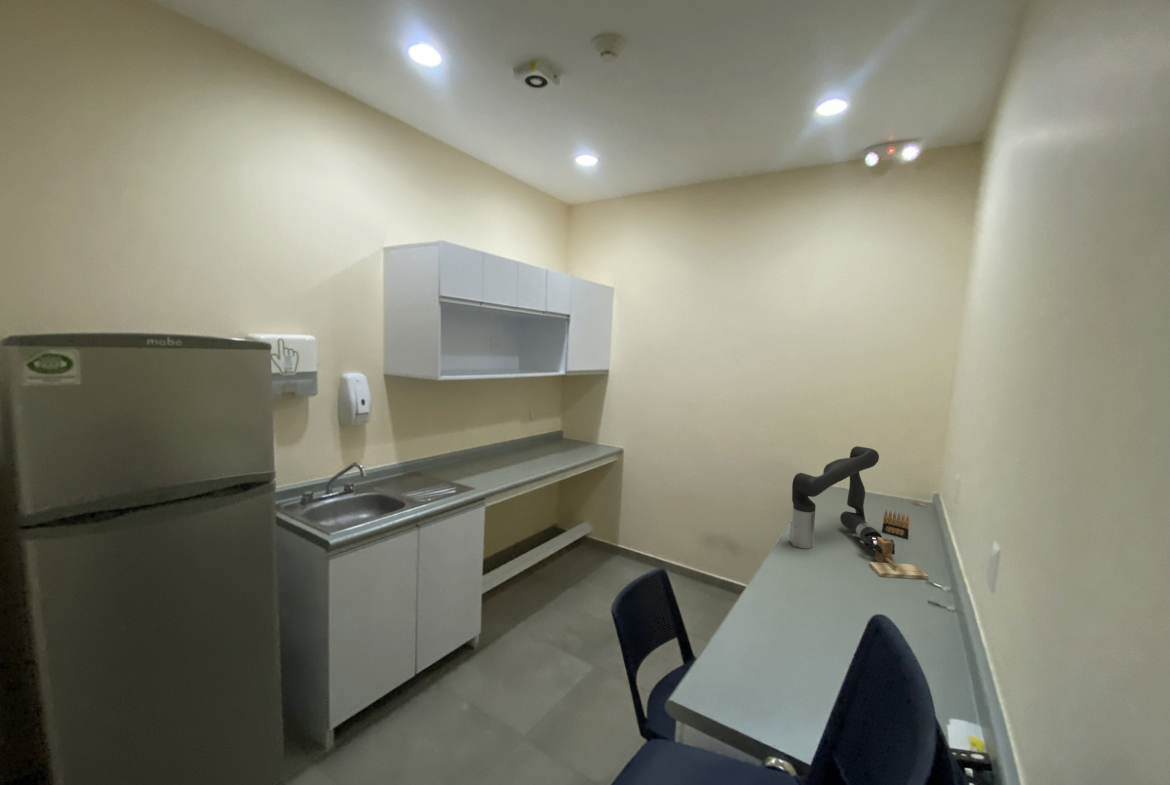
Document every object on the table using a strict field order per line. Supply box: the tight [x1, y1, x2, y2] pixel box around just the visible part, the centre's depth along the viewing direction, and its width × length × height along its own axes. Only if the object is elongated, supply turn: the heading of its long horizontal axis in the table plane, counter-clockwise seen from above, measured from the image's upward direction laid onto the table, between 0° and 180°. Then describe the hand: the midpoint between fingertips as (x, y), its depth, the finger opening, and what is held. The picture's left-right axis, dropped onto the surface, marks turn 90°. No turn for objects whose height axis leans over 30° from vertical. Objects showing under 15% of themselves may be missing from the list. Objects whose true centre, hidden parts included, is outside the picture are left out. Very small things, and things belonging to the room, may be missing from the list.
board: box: [868, 561, 929, 581], centre depth 191 cm, size 18×9×2 cm, turn 83°
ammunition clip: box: [881, 508, 910, 540], centre depth 225 cm, size 11×2×12 cm, turn 46°
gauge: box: [874, 537, 897, 569], centre depth 195 cm, size 4×12×11 cm, turn 173°
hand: (887, 552), depth 196 cm, fingers closed on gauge, 4 cm apart
